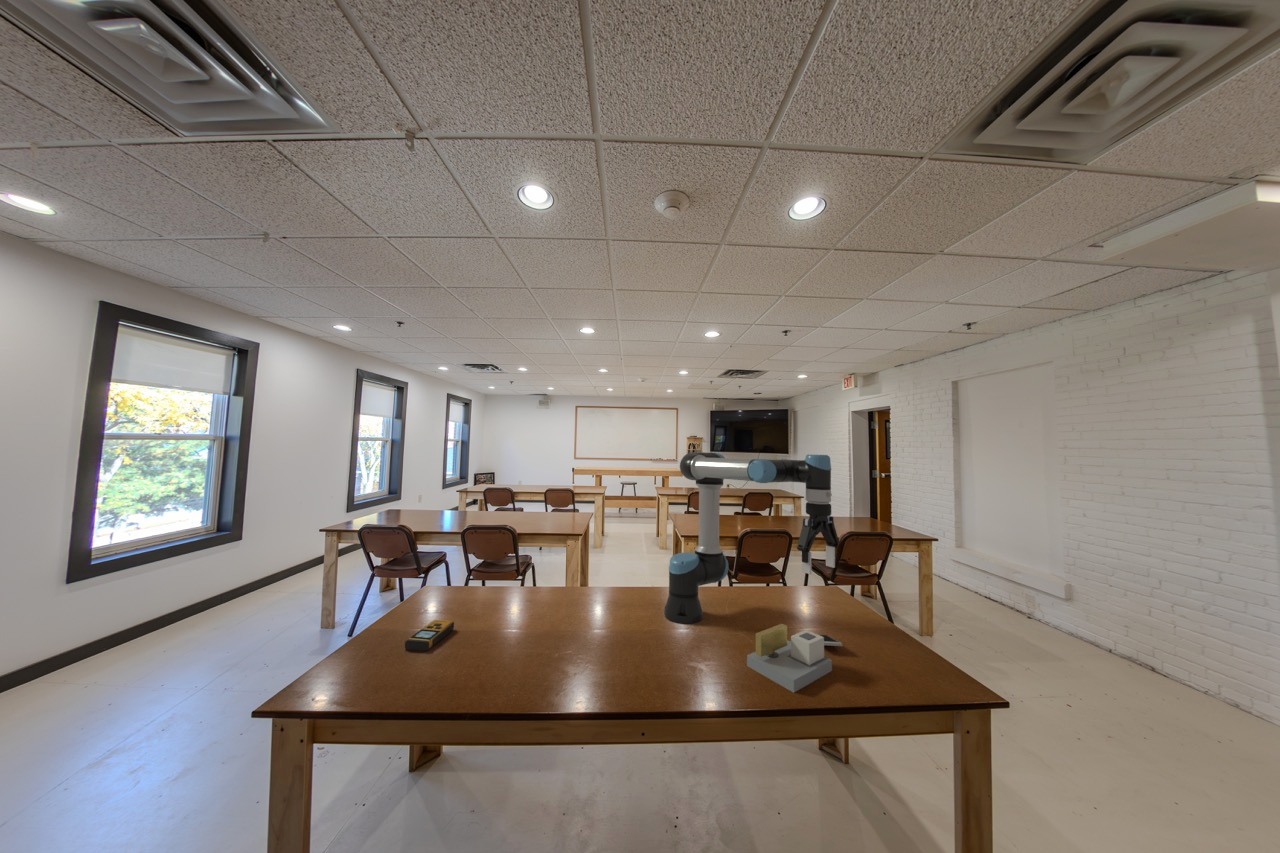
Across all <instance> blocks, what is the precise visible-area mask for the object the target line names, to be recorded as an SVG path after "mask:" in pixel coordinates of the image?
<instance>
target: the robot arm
mask: <svg viewBox="0 0 1280 853" xmlns="http://www.w3.org/2000/svg"><path fill="white" fill-rule="evenodd" d="M679 471H680V473H681V474H682V476H684V478H685V479H687V480H690V481H695V485H696V486H697V488H698V545H697V546H696V547H695V548H694V552H688V551H687V552H678V553H676V554H674V555H672V556H671V557H670V558H669V564H668V572H669V573H668V596H667V600H666V603H665V606H664V609H663V615H665V616H664V617H665V618H666V619H667V620H668V619H669V621H671V622H674V623H677V624H678V623H679V624H694V623H698V622H700V621H701V620H702V619H703V614H704V613H703V609H702V605H701V601H700V598H699V587H701V586H705V585H709V584H715V583H718V582H720V581H722V580H724V579H725V578H726V577H727V575H728V572H729V561H728V559H727V557H726V555H725V554H724V550H723V548H722V547H720V491H721V490H720V489H721V488H722V487H723V486H724V480H734V481H735V480H736V481H744V482H745V481H746V482H755V483H758V484H768V483H803V484H805V501H806V503H805V514H807V515H809V516H808V517H809V518H803V520H802V527H801V531H800V533H799V538H798V543H797V545H796V549H797V550H798V551H800V552H801V572H802V573H804V574H808V575H812V552H811V551H810V550H811V549H812V546H813V543H814V542H815V539H816V537H817V535H819V534H820V533H821V535H822V537H823V540H825V543H826V544H827V545H825V566H826V567H829V568H833V569H834V568H836V553H835V552H836V548H838V547H839V543H840V540H839V536H838V534H837V530H836V526H835V521H834V516H832V504H831V502H832V495H833V494H832V487H831V486H832V480H831V478H832V464H831V457H830V455H828V454H806V455H805V459H802V460H801V459H798V460H797V459H765V458H757V459H756V458H733V457H731V458H730V457H729V458H728V457H727V458H725V456H724V455H722V454H720V453H716V452H701V451H700V452H697V451H696V452H695V451H693V452H689V453H686V454H685V455H684V456H682V458H681V460H680V462H679Z"/></svg>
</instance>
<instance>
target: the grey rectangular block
mask: <svg viewBox="0 0 1280 853" xmlns="http://www.w3.org/2000/svg"><path fill="white" fill-rule="evenodd" d="M820 635H821V634H817V633H814V632H812V631H810V630H808V629H805V630H802V631H800V632H797V633H796V634H793V635H791V636H790V641H791V657H793V658H796V659H798V660H800V661H802V662H804V663H806V664H808V665H811V664H812V663H814V662H816V661H818V660H820V659H822V658H824V656H825V645H824V637H822V636H820Z"/></svg>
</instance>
